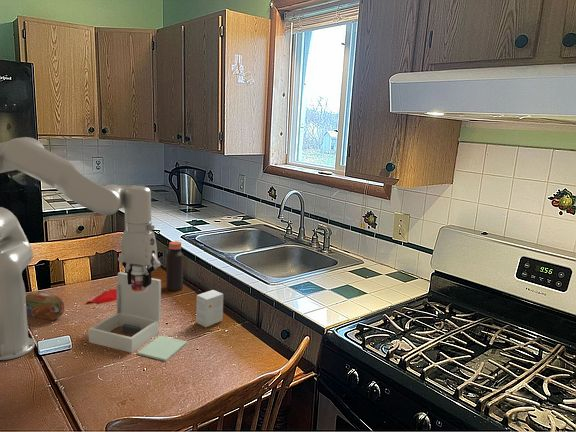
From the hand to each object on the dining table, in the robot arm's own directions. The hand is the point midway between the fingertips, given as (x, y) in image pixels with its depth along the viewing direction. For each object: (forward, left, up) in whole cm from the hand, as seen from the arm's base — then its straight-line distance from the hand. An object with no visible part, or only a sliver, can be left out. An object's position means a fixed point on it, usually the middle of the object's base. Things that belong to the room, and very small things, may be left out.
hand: (139, 283), depth 136 cm
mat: (0, -9, -20) cm, 22 cm away
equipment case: (+1, +6, -20) cm, 21 cm away
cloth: (+28, +32, -21) cm, 47 cm away
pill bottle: (0, 0, -2) cm, 2 cm away
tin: (+2, +40, -20) cm, 45 cm away
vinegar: (+45, +15, -20) cm, 51 cm away
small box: (+23, -13, -20) cm, 33 cm away
